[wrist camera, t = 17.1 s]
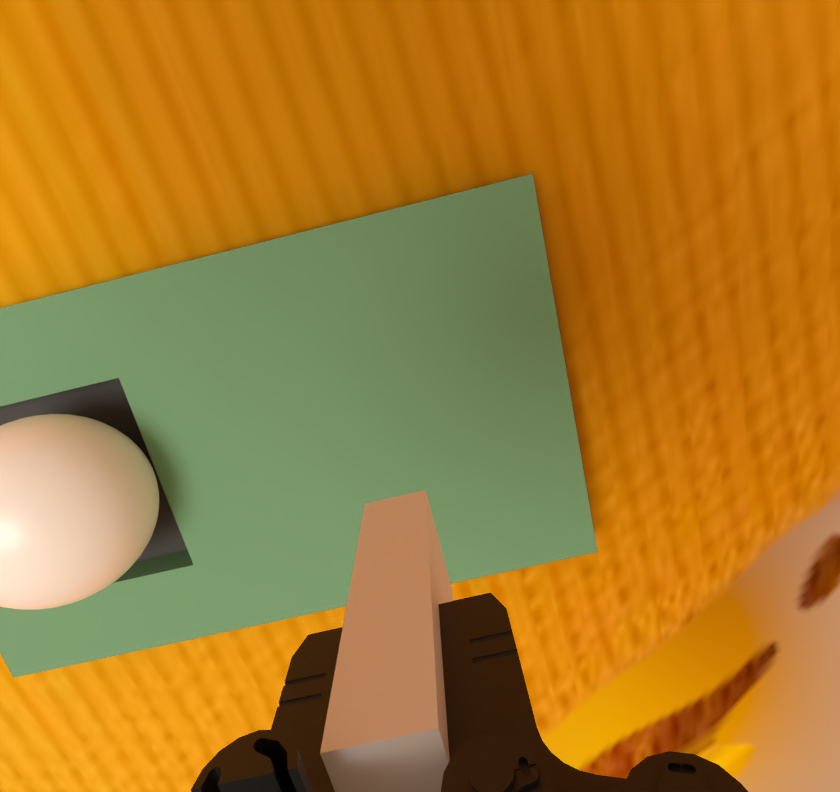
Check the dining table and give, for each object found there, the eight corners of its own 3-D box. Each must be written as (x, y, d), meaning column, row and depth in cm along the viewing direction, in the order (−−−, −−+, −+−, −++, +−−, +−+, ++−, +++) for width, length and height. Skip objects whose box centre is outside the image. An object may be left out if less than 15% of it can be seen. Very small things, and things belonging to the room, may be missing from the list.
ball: (-80, 375, 25) (129, 381, 34) (-121, 542, 28) (83, 508, 36) (4, 507, 21) (220, 475, 29) (-53, 691, 23) (160, 612, 32)
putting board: (523, 179, 29) (532, 173, 27) (585, 531, 35) (597, 551, 33) (-119, 341, 31) (-163, 349, 29) (39, 649, 37) (13, 677, 35)
